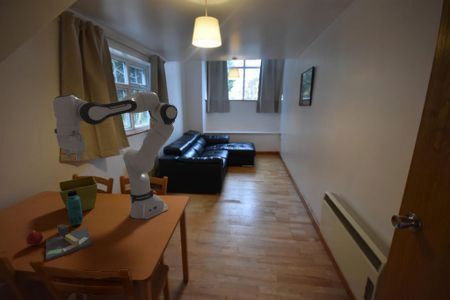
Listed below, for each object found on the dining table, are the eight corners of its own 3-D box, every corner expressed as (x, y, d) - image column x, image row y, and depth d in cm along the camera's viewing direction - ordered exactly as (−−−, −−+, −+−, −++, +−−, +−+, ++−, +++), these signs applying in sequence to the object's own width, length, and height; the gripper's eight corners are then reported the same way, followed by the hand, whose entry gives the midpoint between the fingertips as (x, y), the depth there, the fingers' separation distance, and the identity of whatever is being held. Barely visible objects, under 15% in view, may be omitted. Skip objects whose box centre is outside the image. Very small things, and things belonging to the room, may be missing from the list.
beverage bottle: (67, 226, 117) (61, 192, 112) (78, 220, 123) (73, 188, 118) (75, 229, 115) (69, 194, 110) (86, 222, 121) (81, 189, 116)
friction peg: (64, 234, 107) (62, 223, 106) (80, 244, 100) (78, 232, 99) (59, 237, 105) (56, 225, 104) (75, 247, 98) (73, 235, 97)
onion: (25, 247, 100) (21, 232, 98) (39, 240, 105) (36, 225, 103) (32, 250, 98) (29, 235, 96) (46, 243, 103) (43, 228, 101)
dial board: (87, 229, 114) (87, 227, 114) (92, 245, 102) (91, 242, 102) (46, 242, 104) (46, 239, 104) (46, 260, 92) (45, 258, 92)
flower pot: (63, 218, 125) (59, 191, 121) (62, 206, 139) (58, 182, 136) (100, 208, 137) (97, 184, 133) (95, 198, 151) (92, 175, 147)
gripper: (87, 131, 96) (91, 160, 99) (67, 128, 107) (71, 154, 110) (71, 133, 91) (76, 164, 94) (52, 129, 102) (57, 157, 105)
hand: (73, 159), depth 102 cm, fingers open, 8 cm apart
